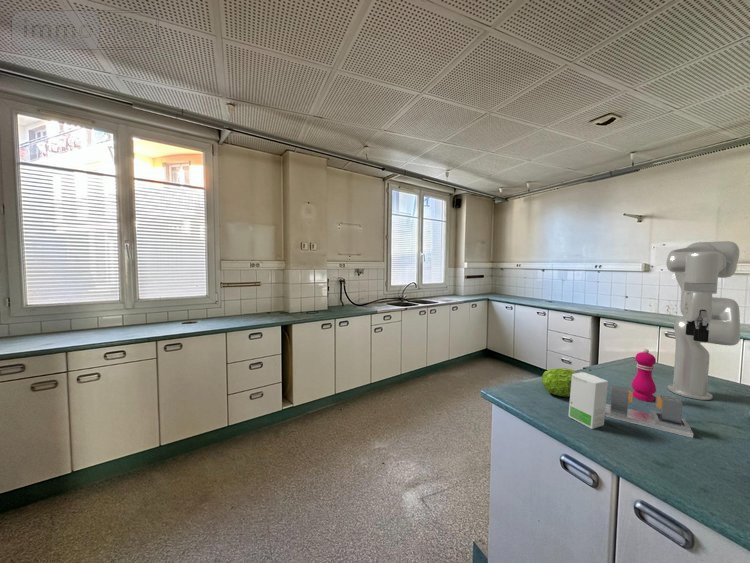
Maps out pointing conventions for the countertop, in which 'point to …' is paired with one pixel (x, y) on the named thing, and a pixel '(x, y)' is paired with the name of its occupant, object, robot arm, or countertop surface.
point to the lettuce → (558, 381)
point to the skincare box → (588, 399)
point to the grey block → (669, 409)
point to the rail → (640, 414)
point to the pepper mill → (644, 377)
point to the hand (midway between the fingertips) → (696, 338)
